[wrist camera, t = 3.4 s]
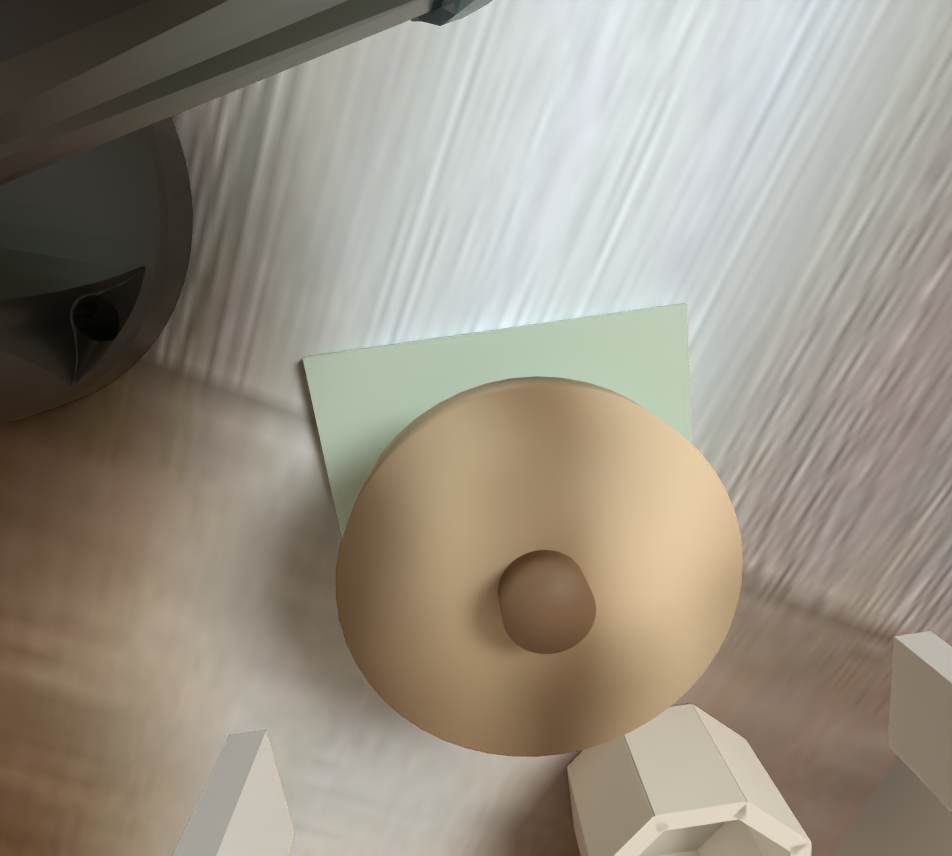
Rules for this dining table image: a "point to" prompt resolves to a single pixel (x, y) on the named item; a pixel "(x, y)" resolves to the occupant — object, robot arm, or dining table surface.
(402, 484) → the lid
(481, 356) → the mat stand
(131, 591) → the dining table surface
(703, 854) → the ramekin
